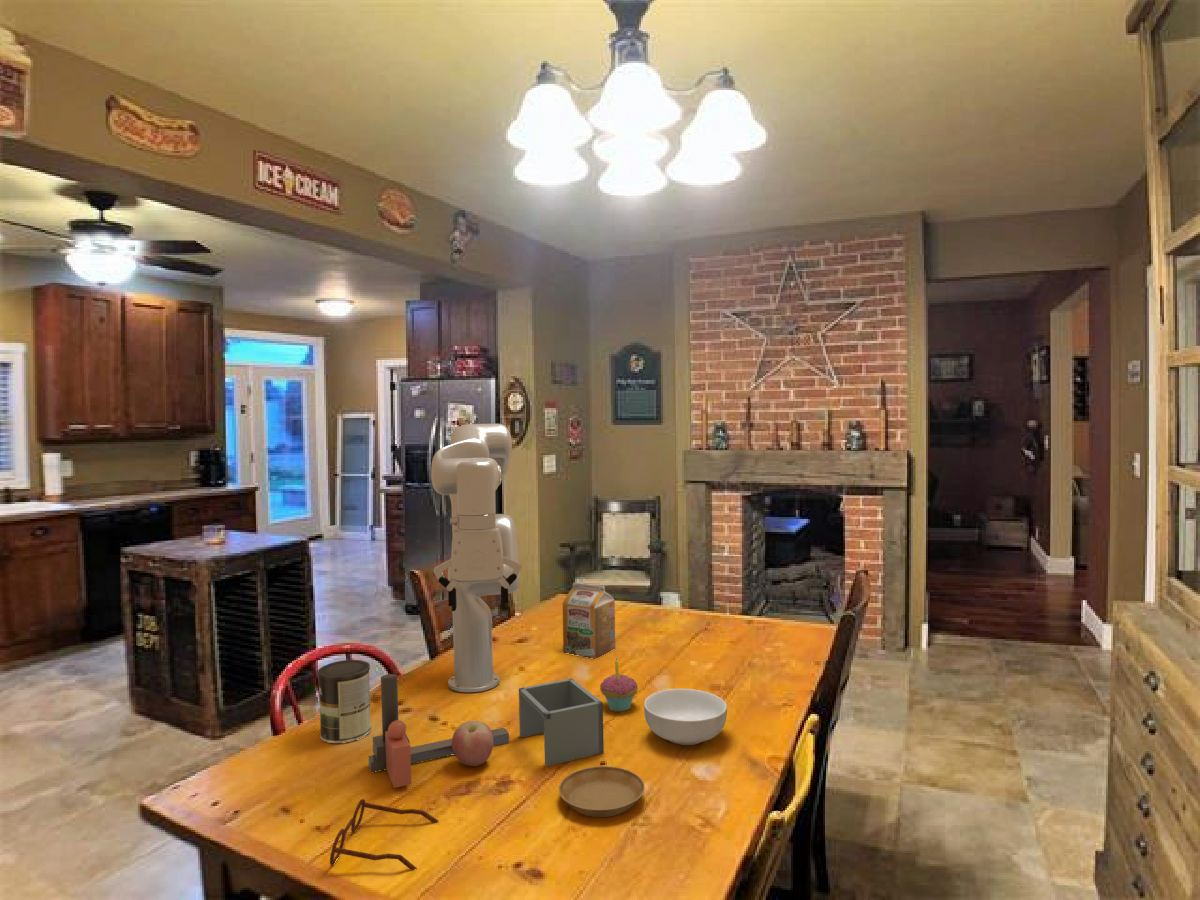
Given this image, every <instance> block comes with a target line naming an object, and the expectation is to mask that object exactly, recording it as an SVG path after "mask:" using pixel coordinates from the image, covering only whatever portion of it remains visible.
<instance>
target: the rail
mask: <svg viewBox="0 0 1200 900" xmlns="http://www.w3.org/2000/svg"><path fill="white" fill-rule="evenodd" d="M491 731H492V734H493V740H494V743H493V747H496V746H501V745H506V744H508V743H510V733H509V731H508V730H507V729H506V727H500V728H495V729H491ZM451 754H455V753H454V752H453V749H452V738H449V739H444V740H443V739H442V740H439V741H435V742H429V743H424V744H419V745H415V746H410V755H411V765H414V764H413V763H415V764H418V763H417V762H420V763H422V762H421V761H424V762H427V761H426V760H429V761H431V760H430V759H433V760H435V759H434V758H438V759H440V758H439V757H442V758H444V757H443V756H447V755H451ZM451 756H452V755H451ZM447 757H448V756H447ZM368 768H369V771H370V770H371V771H370V773H371V772H375V771H379V770H384V769H386V762H381V763H377V761H376V759H375V756H374V754H373V755H368ZM384 771H385V770H384ZM379 772H380V771H379ZM375 773H376V772H375Z"/></svg>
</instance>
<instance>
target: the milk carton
mask: <svg viewBox="0 0 1200 900" xmlns="http://www.w3.org/2000/svg"><path fill="white" fill-rule="evenodd" d="M615 601H616V600H615V599H614V597H613V596H612V595H611V594H610V593H608V592H607V591H606V588H605V586H604V585H598V584H590V583H581V582H573V583H572V588H571V589H570V591H569V592H568V593H567V594H566V596H565V597H564V600H563V602H562V640H563V641H562V642H563V646H562V648H563V649H562V650H563V652H564V653H569V654H574V655H579V656H583V657H582V658H584V657H588V658H587V659H589V658H593V659H592V660H594V659H596V658H598V657H600V656H601V657H603V656H605V655H607V654H609V653H611V652H612V651H611V650H613V649H614V650H616V608H615V607H616V605H615V603H616V602H615ZM614 650H613V651H614ZM610 651H611V652H610ZM608 652H609V653H608ZM606 653H607V654H606ZM604 654H605V655H604ZM602 655H603V656H602ZM579 656H578V657H579ZM601 657H600V658H601ZM598 659H599V658H598ZM596 660H597V659H596Z"/></svg>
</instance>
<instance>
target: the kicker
mask: <svg viewBox="0 0 1200 900" xmlns="http://www.w3.org/2000/svg"><path fill="white" fill-rule="evenodd" d="M398 687H399V685H398V675H397V674H394V673H389V674H384V675H382V676H380V691H381V692H380V695H381V696H380V698H381V700H380V701H381V723H382V724H381V726H382V727H381V731H382V732H381V733H382V735H376V736H372V753H373V755H374V756H375V759H376V761H377V763H381V762H386V769H387V770H386V772H387V774H388V776H389V778H390V781H391V784H392V787H393V788H399V787H402V786H408V785H411V784H412V767H411V766H412V764H411V755H410V747H411V744H410V743H411V742H410V738H409V737H408V735H407V733H406V732H407V726H406V723H405V722H404V721H402V720H399V697H398V696H399V690H398Z"/></svg>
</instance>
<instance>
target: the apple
mask: <svg viewBox="0 0 1200 900" xmlns="http://www.w3.org/2000/svg"><path fill="white" fill-rule="evenodd" d="M491 730H492V729H491V728H490V726H488V724H486V723H485V722H484V721H480V720H467V721H465V722H463V723H461V724H460V725H458V727H456V729H455V730H454V733H453V734H452V737H451V739H452V749H453V752H454V753H455V755H454V756H455V757H456V759H457V760H458V761H459V762H460V763H462V764H463V765H467V766H470V767H478V766H481V765H482V764H484V763H485V762H487V760H488V759H489V758H490V756H491V754H492V751H493V749H494V746H493V743H494V740H493V734H492V731H491Z"/></svg>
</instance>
